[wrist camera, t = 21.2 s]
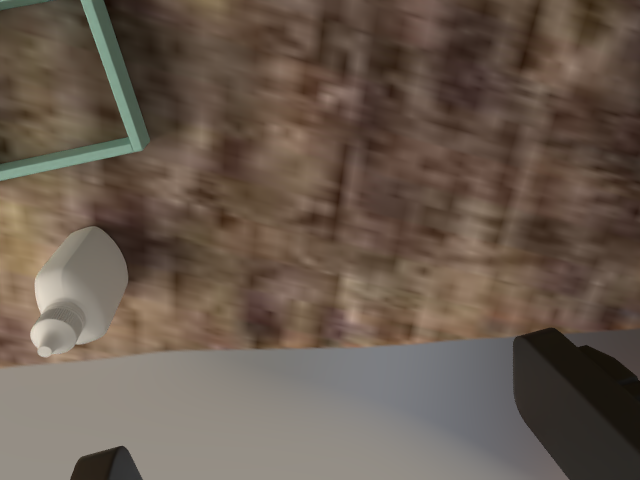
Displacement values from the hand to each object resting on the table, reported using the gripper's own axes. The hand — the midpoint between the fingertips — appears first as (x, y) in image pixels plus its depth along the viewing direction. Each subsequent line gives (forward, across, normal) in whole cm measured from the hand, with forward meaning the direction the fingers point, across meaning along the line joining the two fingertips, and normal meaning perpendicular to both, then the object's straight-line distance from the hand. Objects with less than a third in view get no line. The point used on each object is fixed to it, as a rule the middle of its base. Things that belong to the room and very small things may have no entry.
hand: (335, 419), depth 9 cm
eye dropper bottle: (+28, -14, -6) cm, 32 cm away
